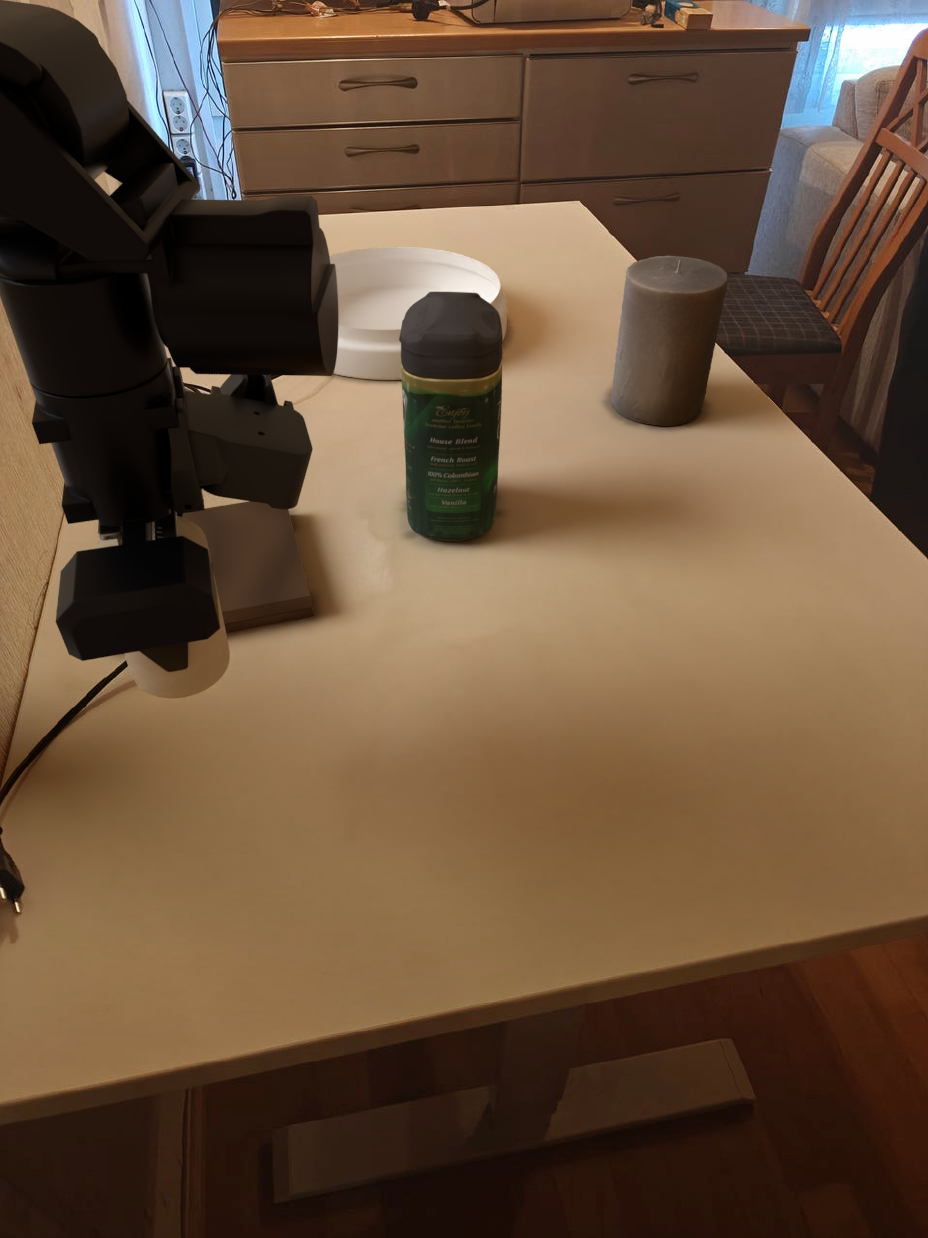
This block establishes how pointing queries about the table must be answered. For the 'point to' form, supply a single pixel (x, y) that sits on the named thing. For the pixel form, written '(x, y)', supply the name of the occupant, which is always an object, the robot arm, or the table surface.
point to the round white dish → (396, 301)
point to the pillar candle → (667, 338)
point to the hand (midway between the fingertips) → (175, 632)
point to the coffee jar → (451, 414)
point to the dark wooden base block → (254, 564)
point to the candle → (203, 655)
